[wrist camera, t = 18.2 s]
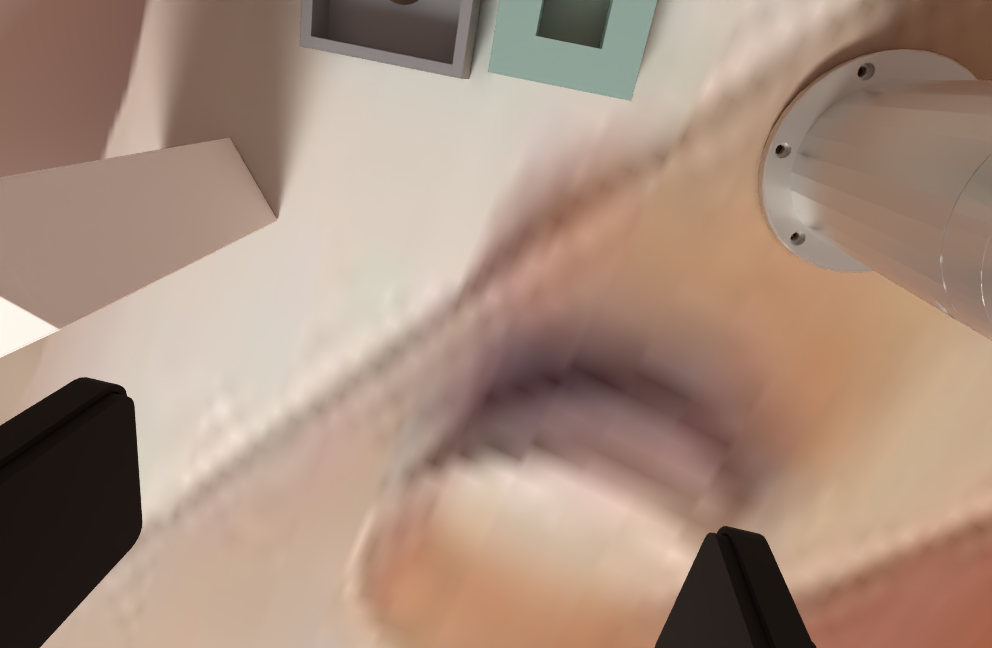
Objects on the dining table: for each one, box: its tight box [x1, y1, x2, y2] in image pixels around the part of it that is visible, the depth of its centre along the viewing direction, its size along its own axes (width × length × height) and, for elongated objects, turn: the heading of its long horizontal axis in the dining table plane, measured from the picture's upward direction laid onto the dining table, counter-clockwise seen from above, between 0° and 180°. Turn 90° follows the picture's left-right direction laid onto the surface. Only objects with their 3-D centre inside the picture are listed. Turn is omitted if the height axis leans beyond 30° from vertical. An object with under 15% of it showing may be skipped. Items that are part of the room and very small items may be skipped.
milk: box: [0, 138, 277, 358], centre depth 29 cm, size 6×6×22 cm
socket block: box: [488, 0, 657, 101], centre depth 31 cm, size 8×8×3 cm
